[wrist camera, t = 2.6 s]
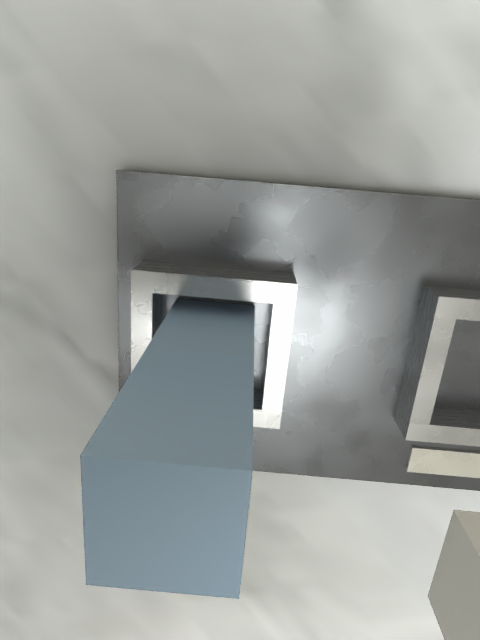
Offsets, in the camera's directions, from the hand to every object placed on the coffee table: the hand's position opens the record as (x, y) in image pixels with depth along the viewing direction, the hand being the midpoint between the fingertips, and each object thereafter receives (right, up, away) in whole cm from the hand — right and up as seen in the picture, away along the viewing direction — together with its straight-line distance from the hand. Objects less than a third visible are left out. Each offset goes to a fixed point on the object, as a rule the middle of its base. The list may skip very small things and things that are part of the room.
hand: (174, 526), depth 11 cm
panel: (+7, +4, +13) cm, 16 cm away
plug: (0, +4, +12) cm, 13 cm away
